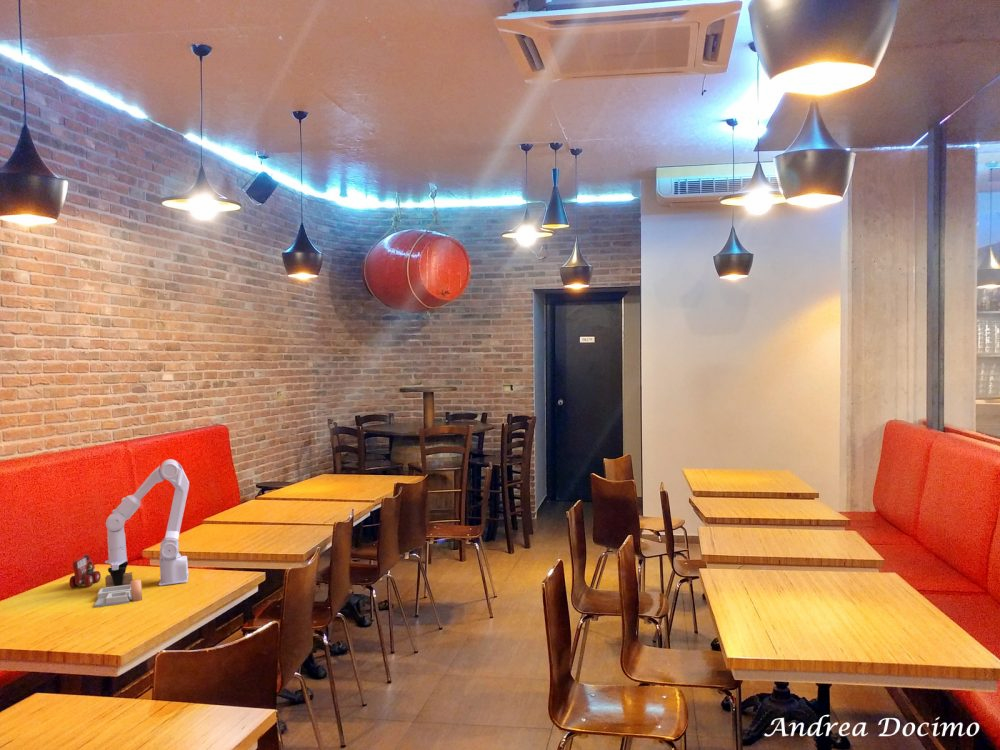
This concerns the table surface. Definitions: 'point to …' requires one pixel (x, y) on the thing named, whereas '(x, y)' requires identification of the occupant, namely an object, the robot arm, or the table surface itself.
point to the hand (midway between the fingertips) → (119, 585)
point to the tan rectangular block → (126, 580)
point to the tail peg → (136, 590)
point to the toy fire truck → (84, 572)
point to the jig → (114, 595)
